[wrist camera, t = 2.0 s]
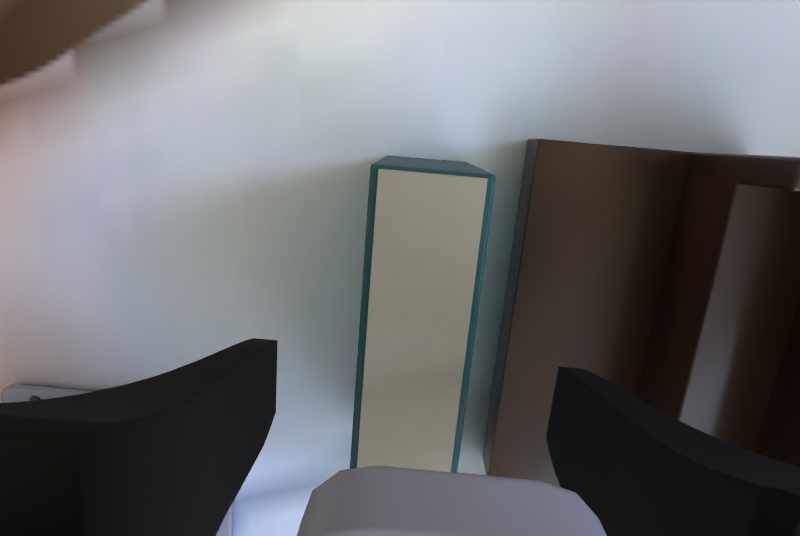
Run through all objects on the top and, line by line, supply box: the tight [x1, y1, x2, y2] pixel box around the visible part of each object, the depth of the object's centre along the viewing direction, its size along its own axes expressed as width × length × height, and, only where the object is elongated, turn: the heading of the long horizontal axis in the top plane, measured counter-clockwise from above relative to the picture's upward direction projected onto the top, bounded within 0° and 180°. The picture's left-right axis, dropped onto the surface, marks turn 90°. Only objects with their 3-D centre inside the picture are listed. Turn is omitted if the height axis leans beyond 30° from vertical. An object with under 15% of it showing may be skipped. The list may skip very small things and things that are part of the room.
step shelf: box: [483, 139, 800, 487], centre depth 16 cm, size 8×13×6 cm, turn 175°
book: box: [350, 156, 495, 473], centre depth 16 cm, size 3×11×7 cm, turn 175°
